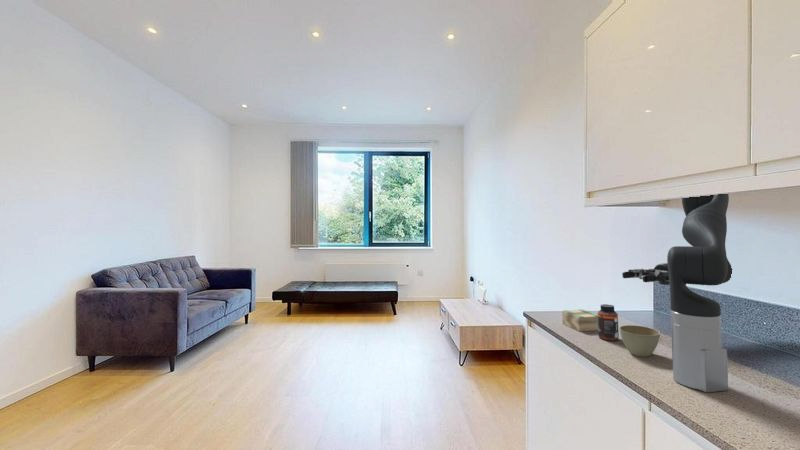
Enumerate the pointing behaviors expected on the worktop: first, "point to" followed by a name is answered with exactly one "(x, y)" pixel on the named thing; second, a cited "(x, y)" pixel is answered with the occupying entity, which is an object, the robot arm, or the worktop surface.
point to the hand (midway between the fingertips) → (633, 277)
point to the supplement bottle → (608, 323)
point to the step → (580, 320)
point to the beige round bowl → (639, 339)
